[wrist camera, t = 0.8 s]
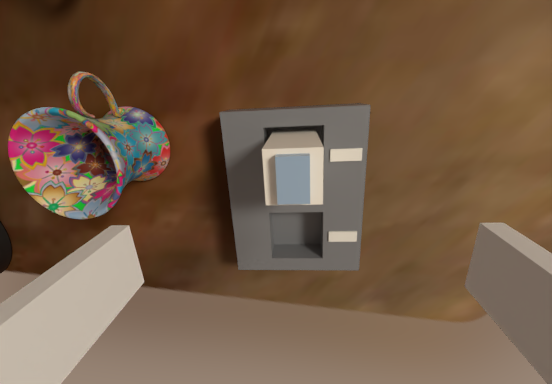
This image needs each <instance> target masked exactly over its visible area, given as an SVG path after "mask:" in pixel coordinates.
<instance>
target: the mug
mask: <svg viewBox="0 0 552 384" xmlns="http://www.w3.org/2000/svg"><path fill="white" fill-rule="evenodd" d="M86 77H87V78H89V79H90V80H92V81H93V82H94V83H95V84H96V85H97V86H98V87H99V88H100V90H101V91H102V93H103V94H104V96H105V98H106V100H107V102H108V104H109V106H110V109H111V111H109V112H108V113H107V114H106V115H104V117H103V118H100V119H91V118H95V116H94V115H91V114H89V113H87V112H86V111H85V110H84V109H83V107H82V105H81V103H80V101H79V96H78V89H79V85H80V82H81V81H82V79H83V78H86ZM68 97H69V100H70V103H71V105H72V107H73V108H74V109H75V111H76V112H77V113H78V114H77V113H74V112H72V111H69V110H65V109H62V108H56V107H42V108H37V109H34V110H31V111H29V112H27V113H25V114H24V115H22V116H21V117H20V118H19V119H18V120H17V121H16V122H15V124H14V125H13V127H12V129H11V132H10V135H9V140H8V153H9V159H10V163H11V166H12V168H13V171H14V173H15V175H16V177H17V179H18V180H19V182H20V183H21V185H22V186H23V188H24V189H25V190H26V191H27V192H28V193H29V195H30V196H31V197H32V198H34V199H35V200H36V201H37V202H38V203H39V204H41V205H42V206H44V207H45V208H47V209H48V210H50V211H52V212H54V213H56V214H59V215H61V216H64V217H68V218H73V219H91V218H95V217H98V216H101V215H103V214H104V213H106V212H108V211H109V210H110V209H111V208H112V207H113V206H114V205H115V204H116V202H117V201H118V199H119V197H120V195H121V192H122V190H123V188H124V187H125V186H126V185H127V184H128V183H129V182H131V181H133V180H135V181H146V180H150V179H153V178H155V177H157V176H158V175H160V174H161V173H162V172H163V171H164V169H165V168H166V166H167V164H168V162H169V158H170V144H169V140H168V137H167V134H166V132H165V130H164V129H163V127H162V126H161V124H160V123H159V122H158V121H157V120H156V119H155V118H154V117H153V116H151V115H150V114H148V113H147V112H145V111H143V110H141V109H138V108H134V107H117V104H116V102H115V99H114V97H113V95H112V94H111V92H110V91H109V89H108V88H107V86H106V85H105V84H104V83H103V82H102V81H101V80H100V79H99V78H98V77H96V76H94V75H93V74H90V73H87V72H77V73H75V74H74V75H72V77H71V78H70V80H69V84H68ZM79 114H80V115H79ZM83 116H84V117H83ZM86 117H87V118H86Z"/></svg>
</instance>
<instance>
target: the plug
mask: <svg viewBox="0 0 552 384" xmlns="http://www.w3.org/2000/svg"><path fill="white" fill-rule="evenodd" d="M262 159H263V174H264V188H265V202H266V205H321V204H323V162H324V147H323V145H322V143H321V140H320V138H319V136H318V134H317V132H316V130H315V129H300V130H276V131H273V132H272V134H271V135H270V137H269V139H268V140H267V142H266V143H265V145H264V147H263V148H262Z"/></svg>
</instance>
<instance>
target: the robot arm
mask: <svg viewBox="0 0 552 384" xmlns="http://www.w3.org/2000/svg"><path fill="white" fill-rule="evenodd" d="M11 255H12V249H11V243H10V240H9V237H8V235H7V232H6V230H5V229H4V227H3V225H2V224H1V222H0V273H2V272H3V271H4V270H5V269H6V268H7V267H8V265H9V263H10V260H11ZM143 283H144V278H143V275H142V271H141V267H140V264H139V260H138V256H137V253H136V249H135V246H134V242H133V238H132V235H131V231H130V227H129V225H121V226H110V227H108V228H107V229H105V230H104V231H103V232H101V233H100V234H98V235H97V236H96V237H94V238H93V239H91V240H90V241H88V242H87V243H86V244H84V245H83V246H81V247H80V248H79V249H77V250H76V251H74V252H73V253H71V254H70V255H69V256H67V257H66V258H64V259H63V260H61V261H60V262H59V263H57V264H56V265H54V266H53V267H52V268H50V269H49V270H47V271H46V272H44V273H43V274H42V275H40V276H39V277H38V278H36V279H35V280H33V281H32V282H30V283H29V284H27V285H26V286H25V287H23V288H22V289H21V290H19V291H17V292H16V293H15V294H13V295H12V296H10V297H9V298H8V299H6V300H5V301H3V302H2V303H1V304H0V384H61V383H62V382H63V380H64V379H65V378H66V377H67V376H68V374H69V373H70V372H71V371H72V369H73V368H74V367H75V366H76V365H77V363H78V362H79V361H80V360H81V359H82V357H83V356H84V355H85V354H86V352H87V351H88V350H89V349H90V348H91V346H92V345H93V344H94V343H95V341H96V340H97V339H98V338H99V337H100V335H101V334H102V333H103V332H104V331H105V329H106V328H107V327H108V326H109V324H110V323H111V322H112V321H113V320H114V318H115V317H116V316H117V315H118V313H119V312H120V311H121V310H122V308H123V307H124V306H125V305H126V303H127V302H128V301H129V300H130V299H131V298H132V296H133V295H134V294H135V293H136V292H137V290H138V289H139V288H140V287H141V285H142V284H143ZM465 288H466V289H467V290H468V291H469V292H470V293H471V295H472V296H473V297H474V298H475V299H476V300H477V302H478V303H479V304H480V305H481V306H482V308H483V309H484V310H485V311H486V312H487V313H488V315H489V316H490V317H491V318H492V319H493V320H494V322H495V323H496V324H497V325H498V326H499V327H500V329H502V331H503V332H504V333H505V335H506V336H507V337H508V338H509V339H510V340H511V342H512V343H513V344H514V345H515V346H516V347H517V348H518V350H519V351H520V352H521V353H522V354H523V356H524V357H525V358H526V359H527V360H528V362H529V363H530V364H531V365H532V366H533V367H534V369H535V370H536V371H537V372H538V373H539V374H540V376H541V377H542V378H543V379H544V380H545V381H546V382H547V384H552V253H550V252H549V251H547V250H545V249H544V248H542V247H541V246H539V245H538V244H536V243H535V242H533V241H531V240H530V239H528V238H527V237H525V236H524V235H522V234H520V233H519V232H517V231H516V230H514V229H513V228H511V227H509V226H508V225H506V224H505V223H480V225H479V229H478V233H477V237H476V241H475V246H474V250H473V254H472V258H471V262H470V266H469V270H468V274H467V278H466V283H465Z"/></svg>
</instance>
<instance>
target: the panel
mask: <svg viewBox="0 0 552 384" xmlns="http://www.w3.org/2000/svg"><path fill="white" fill-rule="evenodd" d="M219 113H220V121H221V129H222V137H223V146H224V154H225V162H226V170H227V179H228V187H229V195H230V203H231V212H232V220H233V228H234V236H235V245H236V253H237V261H238V270H359V261H360V246H361V232H362V218H363V204H364V189H365V175H366V161H367V147H368V132H369V118H370V105H368V104H362V103H357V104H337V105H317V106H297V107H277V108H257V109H237V110H227V111H223V112H219ZM300 129H315V130H316V132H317V134H318V136H319V138H320V140H321V143H322V145H323V147H324V162H323V204H321V205H266V202H265V188H264V174H263V159H262V148H263V147H264V145H265V143H266V142H267V140H268V139H269V137H270V135H271V134H272V132H273V131H276V130H300Z"/></svg>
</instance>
